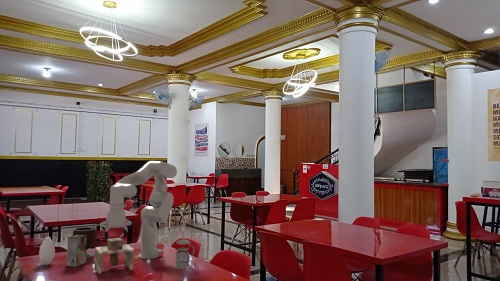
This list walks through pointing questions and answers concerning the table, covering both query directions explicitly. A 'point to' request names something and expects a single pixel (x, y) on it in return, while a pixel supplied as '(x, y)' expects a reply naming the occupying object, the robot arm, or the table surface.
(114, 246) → the hanger peg
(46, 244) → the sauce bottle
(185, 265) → the french press
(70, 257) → the coffee box
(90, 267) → the table surface
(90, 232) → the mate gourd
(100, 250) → the stand
